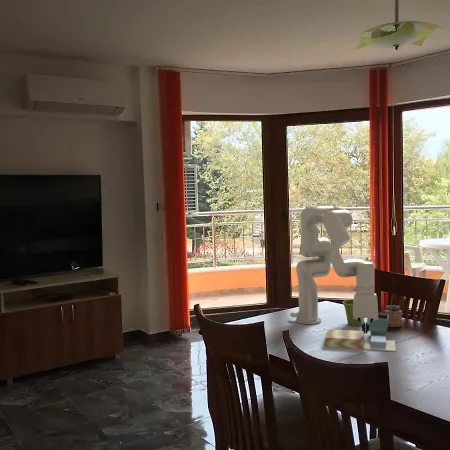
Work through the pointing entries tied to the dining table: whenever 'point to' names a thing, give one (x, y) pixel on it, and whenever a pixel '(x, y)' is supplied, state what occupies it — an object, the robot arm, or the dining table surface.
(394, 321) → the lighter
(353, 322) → the plant pot
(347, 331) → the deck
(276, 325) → the dining table surface
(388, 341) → the mat
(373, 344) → the light blue block
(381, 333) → the flower pot
